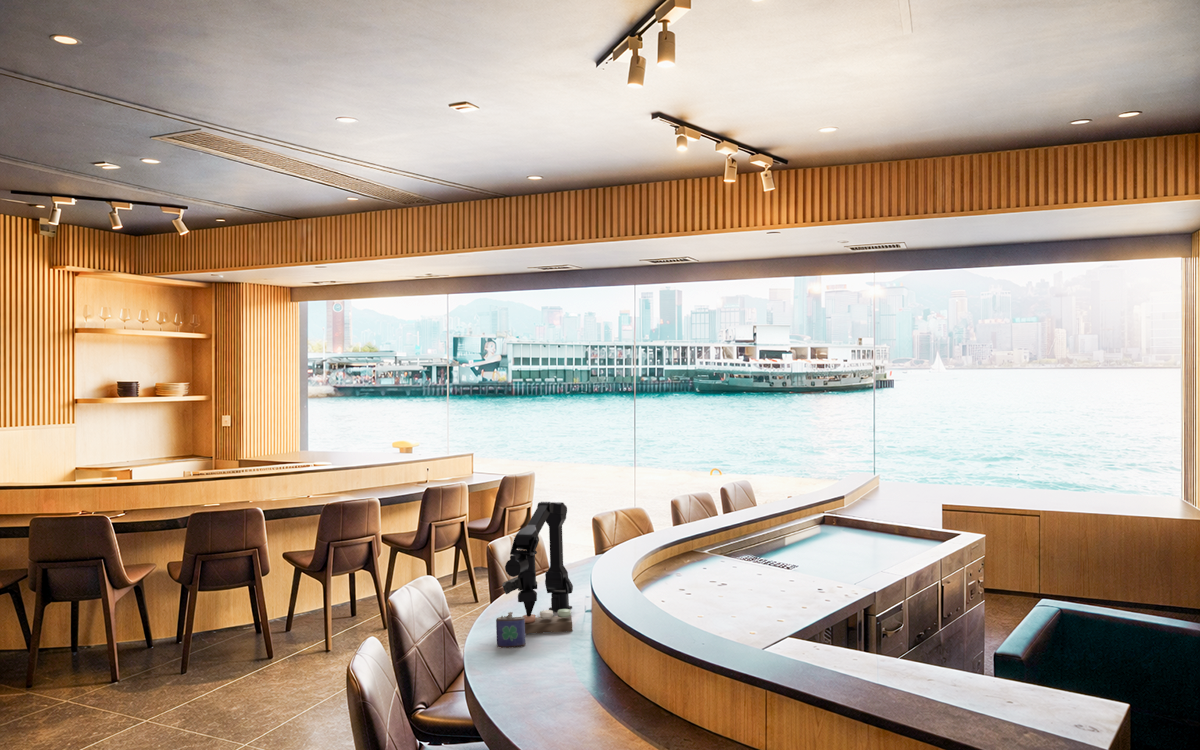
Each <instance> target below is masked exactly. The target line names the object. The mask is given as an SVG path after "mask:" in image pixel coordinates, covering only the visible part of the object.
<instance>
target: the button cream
mask: <svg viewBox="0 0 1200 750" xmlns="http://www.w3.org/2000/svg"><path fill="white" fill-rule="evenodd" d="M553 616H554V611H553V610H549V609H543V610H541V611H540V612H539V617H540V618H544V619H547V618H552V617H553Z"/></svg>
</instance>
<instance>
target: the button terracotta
mask: <svg viewBox="0 0 1200 750" xmlns="http://www.w3.org/2000/svg"><path fill="white" fill-rule="evenodd" d="M521 617H524V618H525V623H532V622H535V617H536V614H534V613H533V614H532V613H531V616H527V614H524V615H522V616H521Z"/></svg>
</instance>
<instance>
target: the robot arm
mask: <svg viewBox="0 0 1200 750" xmlns="http://www.w3.org/2000/svg"><path fill="white" fill-rule="evenodd" d="M567 513H568V507H567V505H565V503H564V502H559V501H558V502H555V501H554V502H553V501H552V502H551V501H540V502H538V503H537V506H536V509H535V511H534V513H533V515H532V516H531V518H530V519H529V521H528V523H527V524H526V526H524V527H522V528H520V529H519V530H518V532H517V533H516V534H515V537H514V538H513V540H512V541H513V543H512V544H511V545H512V546H511V549H510V553H509V554H510V556H509V560H507V561H506V563H505V566H504V570H505V572H506V574H507V575H508V576H509V577H512V578H511V579H509V580H506V581H505V582H502V585H501V587H502V588H503V591H504V594H506V595H508V594H510V593H512V592H514V591H516V590H518V591H519V592H518V594H517V603H523V605H524V609H525V612H526V613H525V615H527V616H531V614H532V613H533V611H534V607H535V604H536V602H537V601H538V592H537V591H536V590H538V581H537V572H536V571H537V568H536V555H537V554H538V551H537V547H538V545H539V542H540V538H539V534H540V532H541V530H542V529H543V527H544V525H545V523H546V524H547V526H548V531H549V532H548V534H549V536H548V537H549V567H548V569H547V571H545V575H544V576H545V580H544V585H545V588H546V589H545V590H546V593H547V594H551V599H550V602H551V607H548V610H552V611H553V612H554V611H555V612H558V610H560V609H570V610H571V609H572V608H573V606H572V605H570V602H569V599H570V598H569V596H570V595H569V594H572V593H573V589H574V585H573V583H572V582H571V580H570V578H569V572H568V570H567V569H566V567H565V566H564V553H563V552H564V545H563V525H564V523H565V521H566V519H567Z"/></svg>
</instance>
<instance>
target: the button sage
mask: <svg viewBox="0 0 1200 750" xmlns="http://www.w3.org/2000/svg"><path fill="white" fill-rule="evenodd" d="M571 611H572V610H571V608H570V609H560V610H558V611H557V616H558V617H569V616H571V617H572V612H571Z"/></svg>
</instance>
